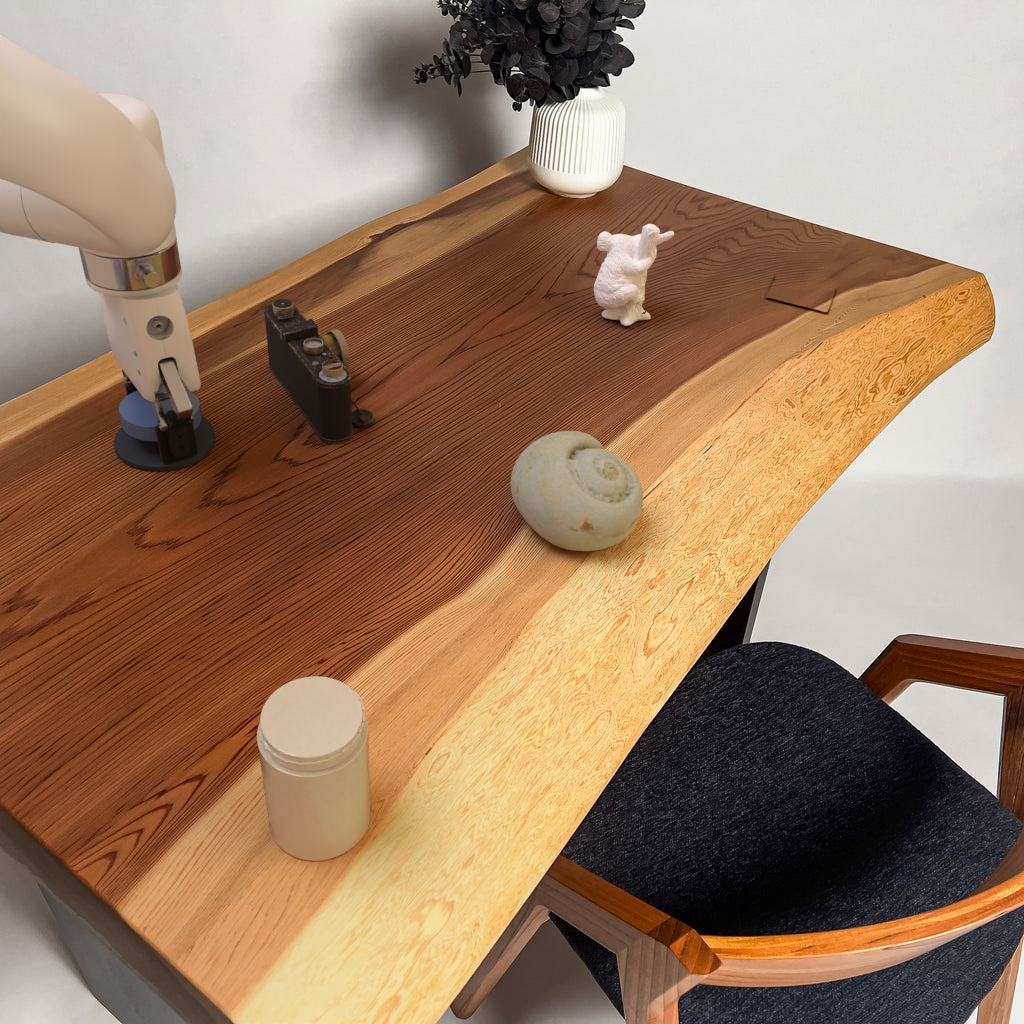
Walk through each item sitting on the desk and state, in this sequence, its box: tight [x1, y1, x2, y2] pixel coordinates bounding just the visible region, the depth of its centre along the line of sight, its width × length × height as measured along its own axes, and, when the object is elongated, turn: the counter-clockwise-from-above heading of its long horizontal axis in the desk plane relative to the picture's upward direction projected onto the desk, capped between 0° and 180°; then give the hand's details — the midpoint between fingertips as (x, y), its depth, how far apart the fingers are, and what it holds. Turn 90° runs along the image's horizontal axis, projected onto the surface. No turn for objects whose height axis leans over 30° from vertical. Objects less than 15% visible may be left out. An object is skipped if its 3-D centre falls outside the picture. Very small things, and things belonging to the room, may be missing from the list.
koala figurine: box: [593, 223, 675, 327], centre depth 112 cm, size 8×7×12 cm
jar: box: [256, 675, 371, 862], centre depth 59 cm, size 6×6×10 cm
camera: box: [263, 298, 375, 444], centre depth 95 cm, size 16×7×8 cm, turn 31°
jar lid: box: [118, 385, 203, 442], centre depth 88 cm, size 7×7×2 cm
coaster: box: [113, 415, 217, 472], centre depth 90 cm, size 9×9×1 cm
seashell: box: [510, 430, 644, 552], centre depth 84 cm, size 13×8×10 cm
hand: (164, 435), depth 90 cm, fingers closed on jar lid, 6 cm apart
